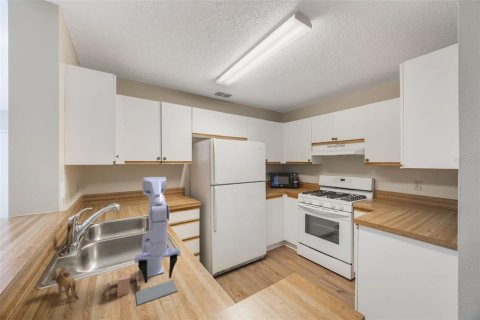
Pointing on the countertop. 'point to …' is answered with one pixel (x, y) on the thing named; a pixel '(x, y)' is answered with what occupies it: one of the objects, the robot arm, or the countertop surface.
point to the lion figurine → (64, 282)
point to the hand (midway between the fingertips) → (158, 279)
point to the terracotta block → (123, 284)
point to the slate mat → (155, 292)
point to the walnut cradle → (117, 285)
